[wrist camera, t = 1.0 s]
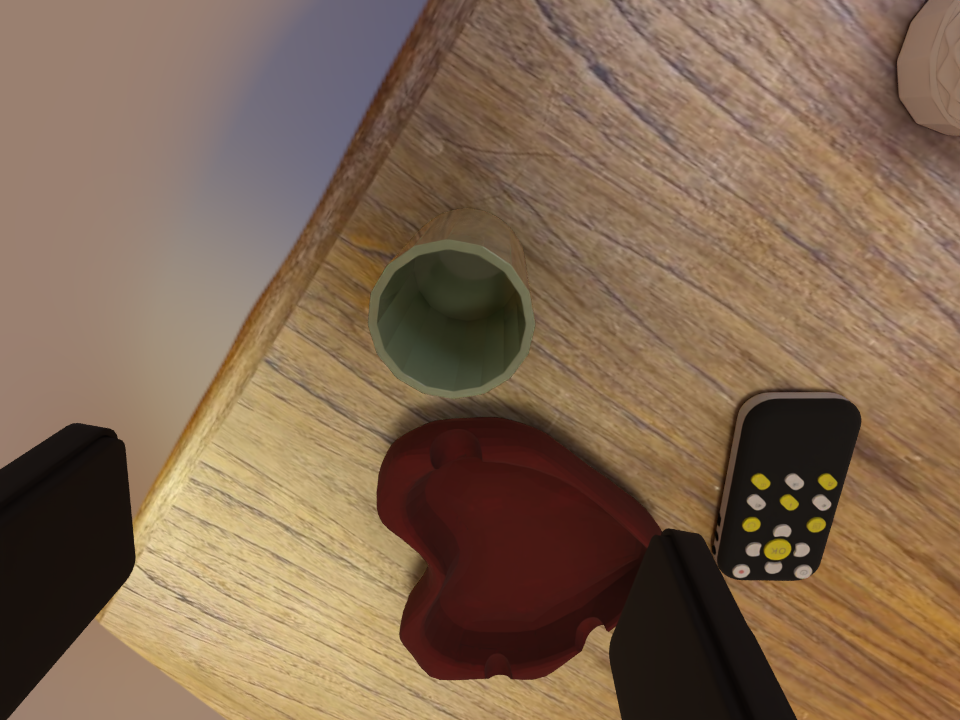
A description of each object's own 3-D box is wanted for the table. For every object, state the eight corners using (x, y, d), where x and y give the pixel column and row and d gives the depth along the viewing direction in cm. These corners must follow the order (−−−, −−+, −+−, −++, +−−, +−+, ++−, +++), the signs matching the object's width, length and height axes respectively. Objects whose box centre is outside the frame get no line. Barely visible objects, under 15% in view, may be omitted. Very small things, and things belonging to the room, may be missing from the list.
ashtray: (647, 618, 37) (667, 687, 32) (417, 620, 38) (405, 687, 33) (665, 390, 30) (694, 436, 25) (382, 401, 31) (361, 447, 26)
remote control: (852, 387, 29) (875, 404, 27) (803, 563, 34) (820, 587, 32) (738, 388, 30) (753, 405, 28) (706, 562, 35) (718, 586, 33)
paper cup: (417, 197, 26) (377, 225, 18) (537, 220, 26) (551, 259, 18) (402, 311, 29) (361, 382, 20) (512, 332, 29) (514, 411, 21)
